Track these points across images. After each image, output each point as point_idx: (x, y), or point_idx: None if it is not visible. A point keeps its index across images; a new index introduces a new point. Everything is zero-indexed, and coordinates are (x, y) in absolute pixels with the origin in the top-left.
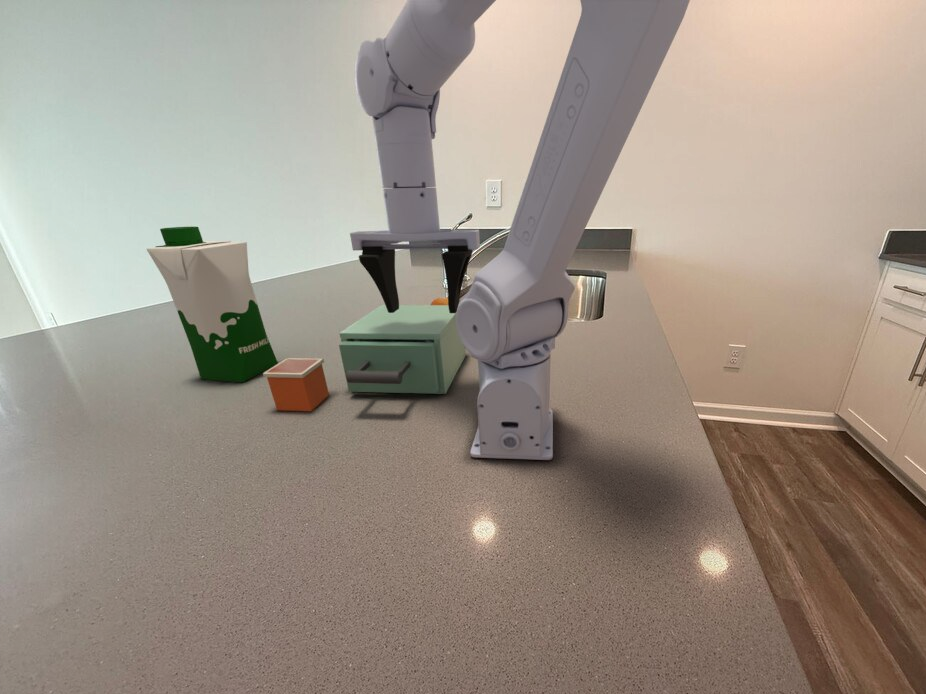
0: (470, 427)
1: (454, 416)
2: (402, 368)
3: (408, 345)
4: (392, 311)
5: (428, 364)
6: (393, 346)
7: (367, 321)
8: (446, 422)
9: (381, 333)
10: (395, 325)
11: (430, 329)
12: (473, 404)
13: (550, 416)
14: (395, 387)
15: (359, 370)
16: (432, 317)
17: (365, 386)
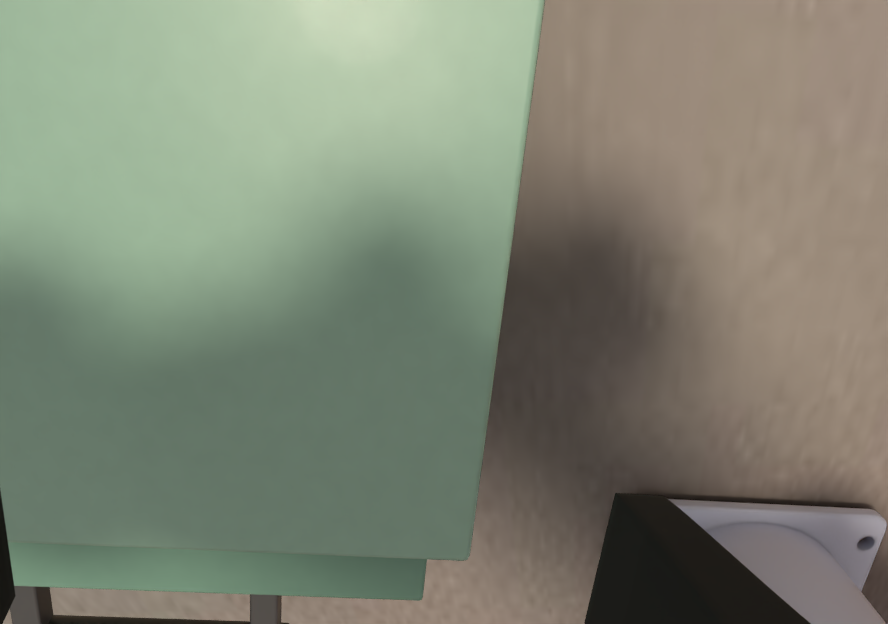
0: (569, 585)
1: (506, 522)
2: (270, 603)
3: (265, 592)
4: (3, 609)
5: None
6: (162, 584)
7: None
8: (480, 558)
9: None
10: (17, 355)
11: (379, 473)
12: (578, 438)
13: (865, 564)
14: None
15: (40, 620)
16: (308, 101)
17: None
